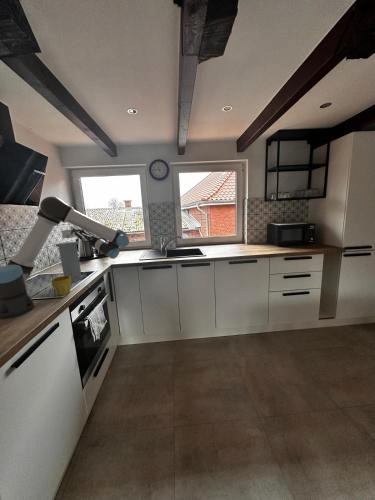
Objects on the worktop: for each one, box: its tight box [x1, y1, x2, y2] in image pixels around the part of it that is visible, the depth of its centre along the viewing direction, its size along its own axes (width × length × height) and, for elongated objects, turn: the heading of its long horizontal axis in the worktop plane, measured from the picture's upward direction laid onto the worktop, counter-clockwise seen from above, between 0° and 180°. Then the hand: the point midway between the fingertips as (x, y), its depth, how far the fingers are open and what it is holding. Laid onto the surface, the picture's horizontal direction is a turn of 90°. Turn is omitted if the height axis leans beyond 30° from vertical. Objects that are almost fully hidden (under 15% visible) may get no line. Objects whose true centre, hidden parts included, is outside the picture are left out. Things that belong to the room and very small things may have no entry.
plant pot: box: [50, 275, 73, 296], centre depth 123 cm, size 10×10×10 cm
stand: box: [55, 241, 85, 283], centre depth 147 cm, size 10×10×28 cm
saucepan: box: [60, 229, 84, 239], centre depth 141 cm, size 17×9×5 cm, turn 72°
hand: (72, 226), depth 140 cm, fingers closed on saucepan, 2 cm apart
